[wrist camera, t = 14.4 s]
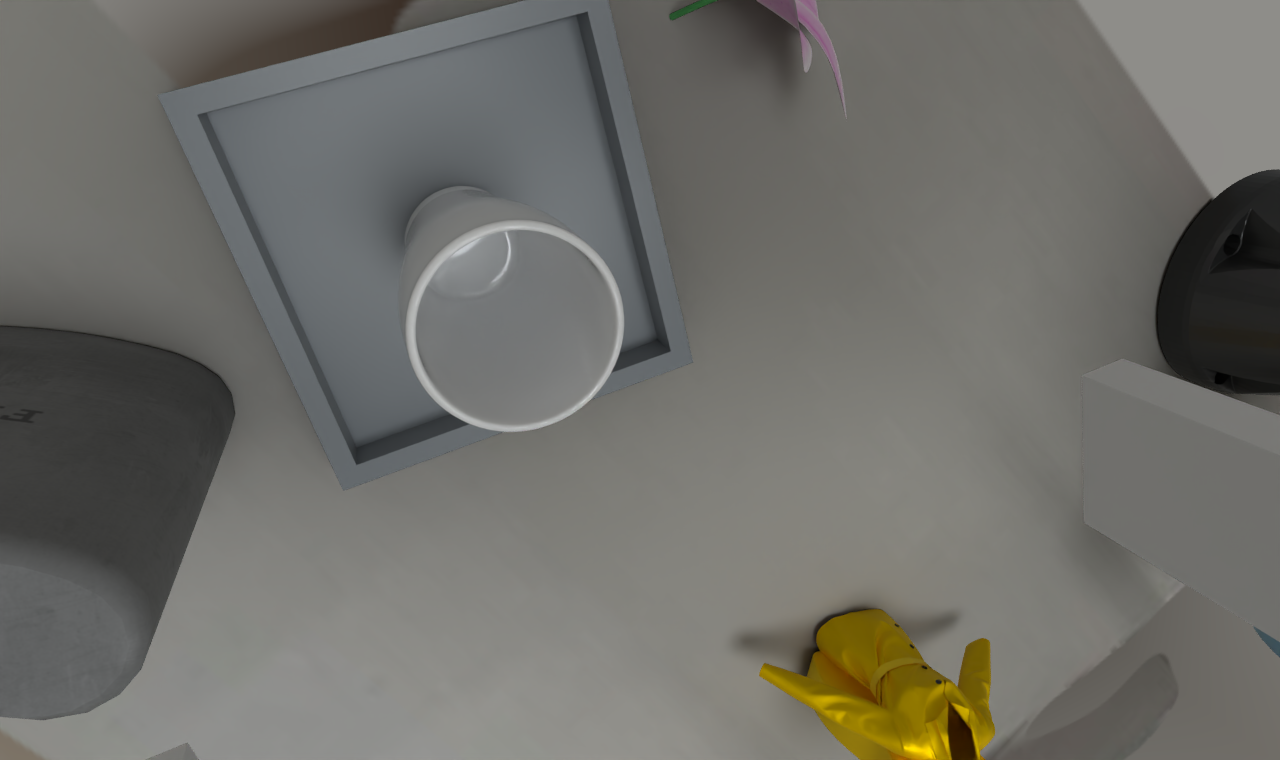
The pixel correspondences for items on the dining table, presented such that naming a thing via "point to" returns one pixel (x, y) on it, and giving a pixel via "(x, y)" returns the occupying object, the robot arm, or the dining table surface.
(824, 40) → the lily
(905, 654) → the figure statuette
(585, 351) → the drinking glass
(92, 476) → the flask
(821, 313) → the dining table surface
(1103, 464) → the robot arm
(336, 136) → the tray
